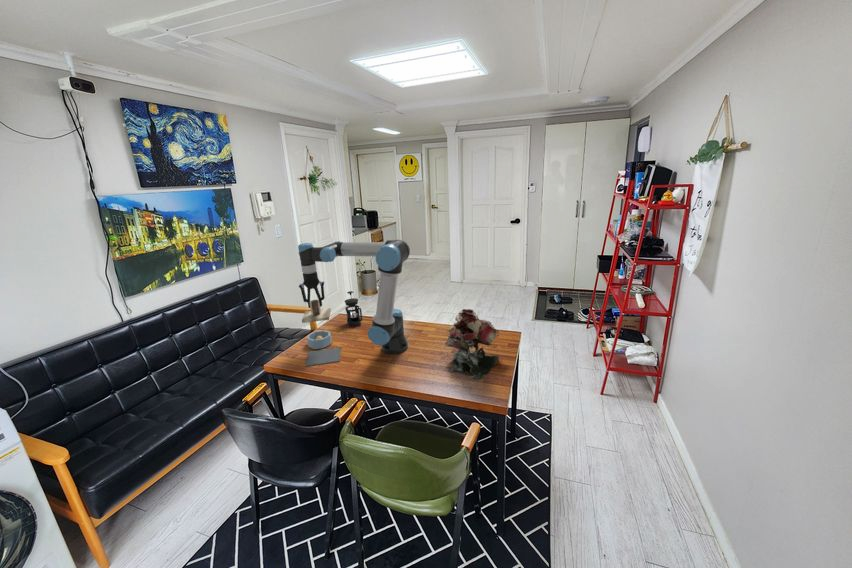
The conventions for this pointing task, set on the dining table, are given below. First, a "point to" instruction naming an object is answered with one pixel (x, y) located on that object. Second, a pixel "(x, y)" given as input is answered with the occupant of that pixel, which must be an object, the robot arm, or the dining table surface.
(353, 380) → the dining table surface
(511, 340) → the dining table surface
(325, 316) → the lid
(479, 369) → the rose bouquet
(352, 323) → the french press
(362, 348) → the dining table surface
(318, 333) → the bowl
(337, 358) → the mat
